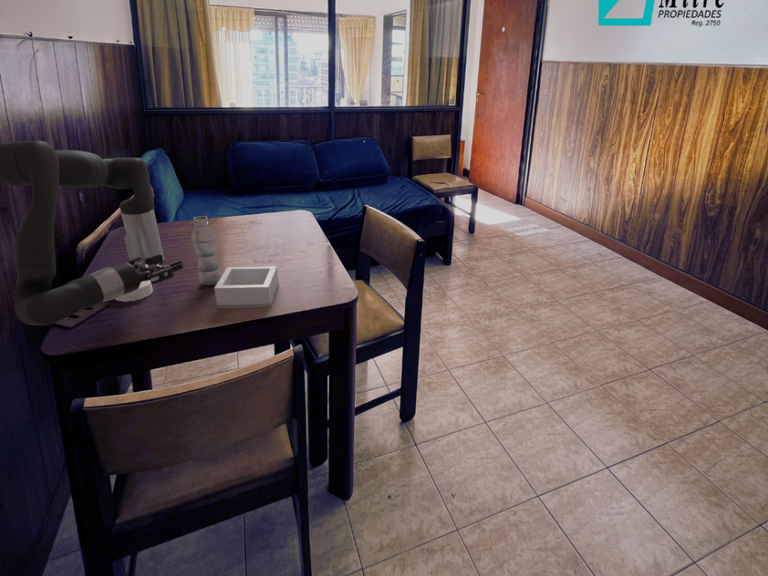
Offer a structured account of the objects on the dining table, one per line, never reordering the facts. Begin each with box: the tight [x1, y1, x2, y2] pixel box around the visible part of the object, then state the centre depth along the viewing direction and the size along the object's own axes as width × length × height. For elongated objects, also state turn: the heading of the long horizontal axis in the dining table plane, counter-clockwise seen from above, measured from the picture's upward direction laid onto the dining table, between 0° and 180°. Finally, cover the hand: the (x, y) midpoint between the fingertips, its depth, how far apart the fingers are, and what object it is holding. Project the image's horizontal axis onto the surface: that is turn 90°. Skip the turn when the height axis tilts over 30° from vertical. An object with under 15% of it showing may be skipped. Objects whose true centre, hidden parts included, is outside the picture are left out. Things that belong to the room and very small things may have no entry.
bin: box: [213, 265, 280, 309], centre depth 133 cm, size 14×14×6 cm
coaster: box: [114, 280, 153, 303], centre depth 135 cm, size 10×10×4 cm
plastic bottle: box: [190, 215, 223, 287], centre depth 138 cm, size 6×7×20 cm
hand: (171, 260), depth 129 cm, fingers open, 8 cm apart
